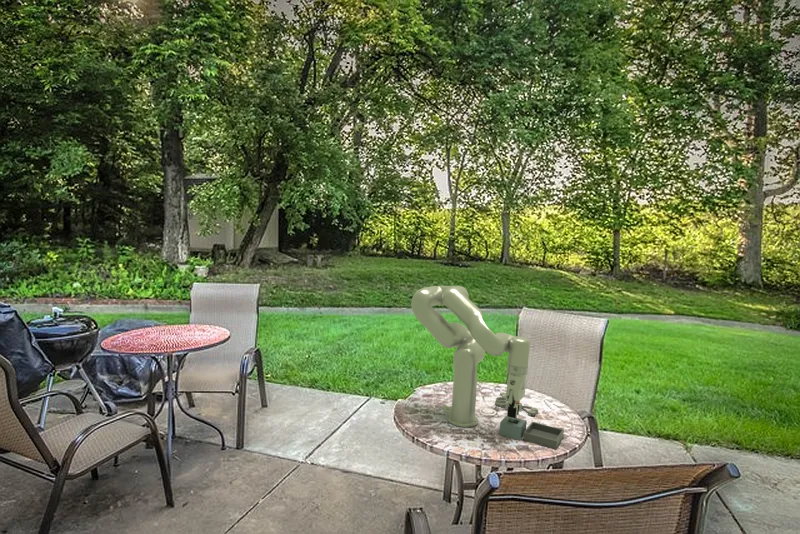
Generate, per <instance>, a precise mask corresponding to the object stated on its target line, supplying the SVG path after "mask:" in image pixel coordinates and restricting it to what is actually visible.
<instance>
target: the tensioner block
mask: <svg viewBox="0 0 800 534" xmlns="http://www.w3.org/2000/svg"><path fill="white" fill-rule="evenodd" d="M527 421H528V420H527V419H522V418H518V417H517V423H516V424H515V423H511V422H509V417H508V416H507V414H506V415H505V416H504V418H502V420H501V421H500V423H499V432H498V434H500V436H503V435H504V436H503V437H506V436H507V437H508V438H511V439H514V440H518V441H521V439H523V433H524V431H525V430H526V429H527Z"/></svg>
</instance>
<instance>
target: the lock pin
mask: <svg viewBox="0 0 800 534" xmlns="http://www.w3.org/2000/svg"><path fill="white" fill-rule="evenodd" d="M513 399H514V398H513ZM512 402H514V401H512ZM519 402H520V403H521V400H520V401H518V402H516V408H517V409H516V418H512V417H509V422H511V423H515V424H516V423H517V418H518V415H517V410H518V404H519Z"/></svg>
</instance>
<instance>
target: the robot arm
mask: <svg viewBox="0 0 800 534" xmlns="http://www.w3.org/2000/svg"><path fill="white" fill-rule="evenodd" d="M410 304H411V305H410V306H411V310H412V313H413V315H414V317H415V318H416V319H417V320H418V322H419V323H420V324H421V325H422V326H423V327H424V328H425V329H426V330H427V331H428V333H430V334H431V335H432V336H433V338H434V339H435V340H436V341H437V342H438V343H439V344H440V345H441V346H442V347H443V348H446V349H452V348H454V347H455V348H456V349H455V351H454V353H453V359H452V363H453V381H452V382H453V383H452V385H453V386H452V399H451V406H448V405H445V404H444V405H443V406H442V411H443V413H447V414H448V415H447V416H446V420H447V422H448V423H450V424H451V425H454V426H457V427H462V428H463V427H464V428H471V427H475V426H477V425H478V424H479V418H478V417H477V416H476V415H475V414H476V404H477V403H476V402H477V401H476V400H477V387H478V370H477V369H478V368H477V365H478V364H480V363H481V362H482V361H483V360H484V358H485V356H486V353H487V354H489V355H491V356H493V357H499V356H502V355H503V354H504V353H507V352H508V355H507V356H508V357H507V368H506V372H507V374H508V377H507V384H506V392H505V393H506V398H507V399H508V409H507V412H506V413H507V414H506V415H507V416H508V417H512V418H516V409H517V408H516V402H518V401H520V402H519V404H520V403H521V400H522V399H523V398H524V396H525V395H526V383H527V382H526V379H527V377H526V376H527V375H528V367H529V359H530V358H529V357H530V356H529V355H530V346H531V341H530V340H529V338H527V337H524V336H518V335H517V336H515V335H512V334H511V333H510V334H509V333H505V332H497V333H494V332H493V331H492V330H491V329H490V328H489V327H488V326H487V324H486V323H485V321H484V318H483V312H482V309H480V308H479V306H477V305H476V304H475V303H474V302H473V301H471V299H470V296H469V292H468V290H467V289H466V288H465V287H464V286H461V285H432V286H428V287H422V288H419V289H418V290H417V291H415V292H414V294H413V296H412V298H411V303H410ZM435 306H445V307H447V309H449V311H450V312H452V314H454V315H455V316H456V317H457V318H458V319H459V320H460V321H461V322H462V323H463V324H462V323H460V322H457V321H456V322H455V321H454V322H450V321H448V320H447V319H446V318H445V317H444V316H443V315H442V313H440V312H439V311H438V310H436V309H434V308H433V307H435ZM513 398H514V399H513ZM512 401H514V402H512ZM519 412H520V411H519V405H518V410H517V416H518V415H520V413H519Z"/></svg>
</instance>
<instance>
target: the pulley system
mask: <svg viewBox="0 0 800 534" xmlns="http://www.w3.org/2000/svg"><path fill="white" fill-rule="evenodd" d="M495 405H496V406H495ZM518 405H519V412H521V411H524V412H525V413H526V414H528V416H529V415H530V416H532V417H534V416H536V415H537V414H538V412H539V409H538V408H537V407H531V406H525V405H523V403H522V402H520V404H518ZM494 406H495V407H497V406H498V407H497V408H499V407H501V408H500V409H506V410H508V399H507V398H506V392H504V391H503V392H502V391H501V392H500V393H499V396H497V397H496V398H495V401H494Z"/></svg>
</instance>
